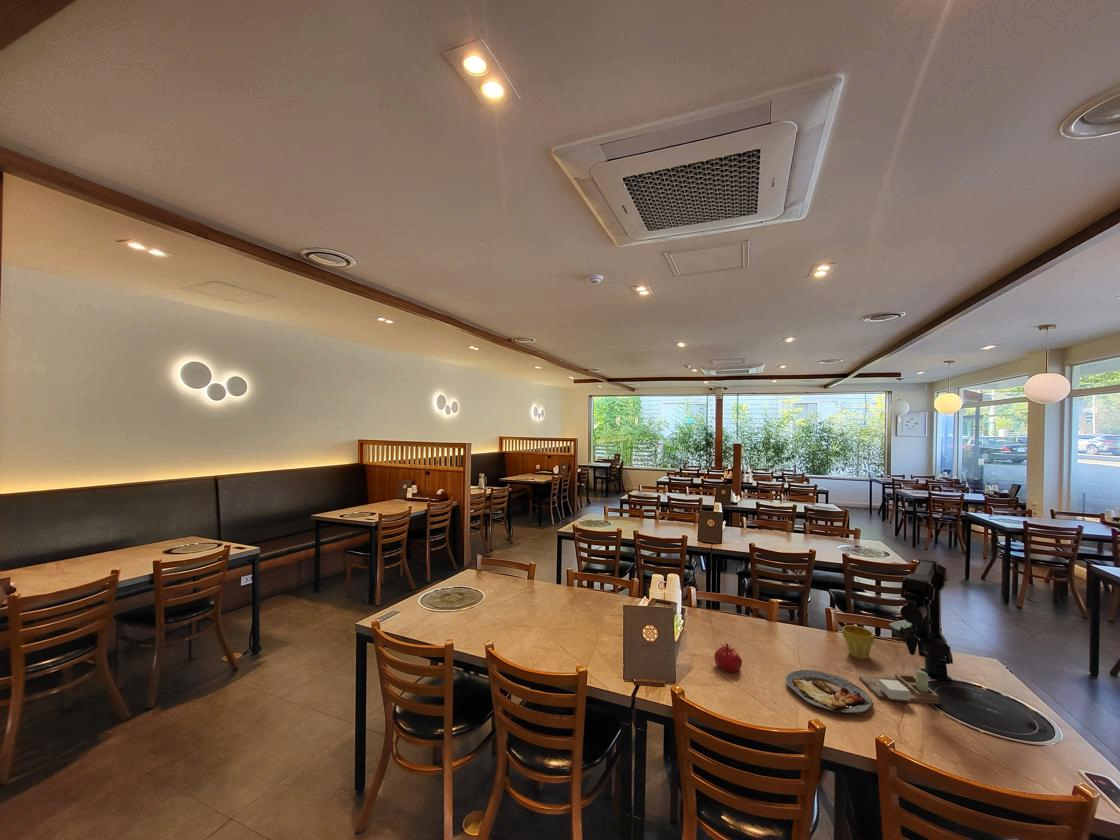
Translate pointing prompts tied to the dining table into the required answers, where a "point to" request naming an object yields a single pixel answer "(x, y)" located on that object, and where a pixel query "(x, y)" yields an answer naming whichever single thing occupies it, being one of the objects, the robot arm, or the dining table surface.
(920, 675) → the peg
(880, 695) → the board
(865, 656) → the plant pot
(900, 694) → the cover
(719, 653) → the pomegranate
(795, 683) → the food plate
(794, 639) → the dining table surface
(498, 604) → the dining table surface
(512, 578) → the dining table surface
